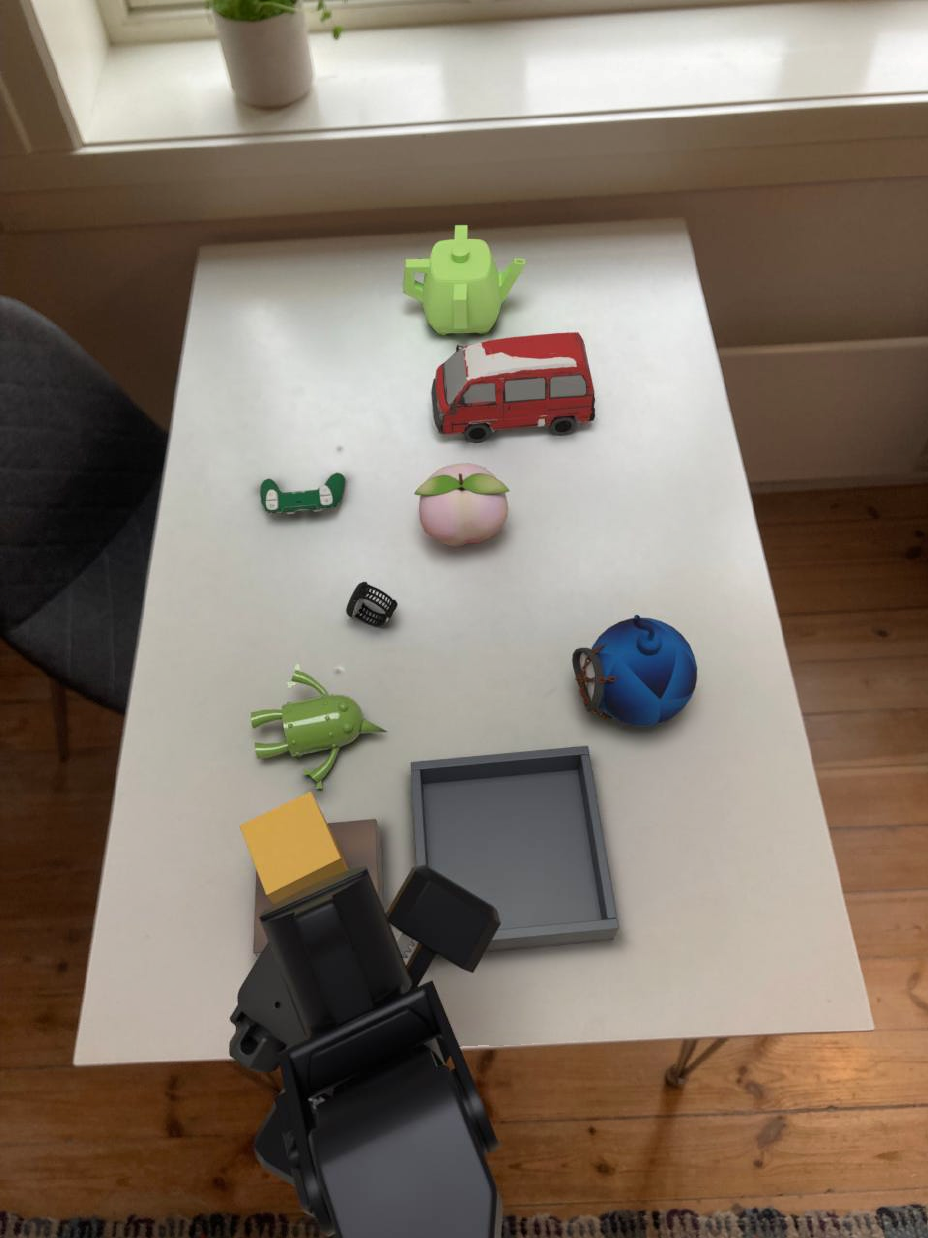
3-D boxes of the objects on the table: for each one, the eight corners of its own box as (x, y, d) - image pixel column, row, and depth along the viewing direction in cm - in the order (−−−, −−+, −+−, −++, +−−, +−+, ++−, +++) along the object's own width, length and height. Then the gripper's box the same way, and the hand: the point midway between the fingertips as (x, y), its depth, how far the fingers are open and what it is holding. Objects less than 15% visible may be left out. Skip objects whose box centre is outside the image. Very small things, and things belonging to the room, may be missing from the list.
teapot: (462, 361, 110) (459, 295, 102) (398, 318, 115) (390, 251, 107) (528, 313, 115) (530, 245, 106) (463, 273, 119) (460, 205, 111)
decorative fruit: (500, 497, 99) (499, 433, 91) (513, 557, 95) (515, 496, 87) (415, 509, 99) (406, 447, 90) (425, 571, 95) (417, 511, 86)
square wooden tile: (385, 951, 75) (379, 941, 72) (264, 963, 75) (253, 953, 71) (381, 833, 80) (375, 818, 77) (267, 844, 80) (257, 829, 77)
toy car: (433, 391, 108) (427, 324, 100) (589, 387, 107) (596, 319, 99) (432, 448, 103) (425, 383, 95) (594, 445, 103) (602, 379, 94)
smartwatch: (371, 594, 93) (365, 566, 89) (405, 624, 91) (400, 597, 87) (341, 618, 92) (333, 591, 88) (374, 649, 90) (368, 623, 86)
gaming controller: (267, 512, 102) (257, 519, 96) (262, 478, 101) (251, 483, 95) (349, 505, 102) (344, 512, 96) (345, 470, 101) (339, 475, 95)
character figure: (237, 672, 81) (370, 645, 82) (248, 676, 86) (373, 651, 87) (261, 802, 79) (395, 773, 80) (270, 799, 85) (397, 772, 85)
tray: (613, 940, 75) (619, 928, 71) (424, 958, 75) (420, 947, 71) (584, 763, 83) (588, 745, 79) (414, 779, 83) (410, 761, 79)
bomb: (559, 664, 88) (569, 578, 75) (667, 642, 89) (694, 553, 76) (588, 756, 83) (603, 680, 70) (701, 731, 84) (737, 652, 71)
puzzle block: (361, 898, 73) (340, 858, 64) (297, 931, 72) (266, 895, 63) (334, 838, 76) (311, 791, 67) (272, 869, 75) (239, 825, 65)
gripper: (351, 828, 49) (348, 811, 64) (149, 1161, 45) (197, 1058, 60) (527, 936, 49) (482, 893, 64) (341, 1273, 45) (340, 1143, 61)
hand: (375, 991), depth 62 cm, fingers open, 9 cm apart
